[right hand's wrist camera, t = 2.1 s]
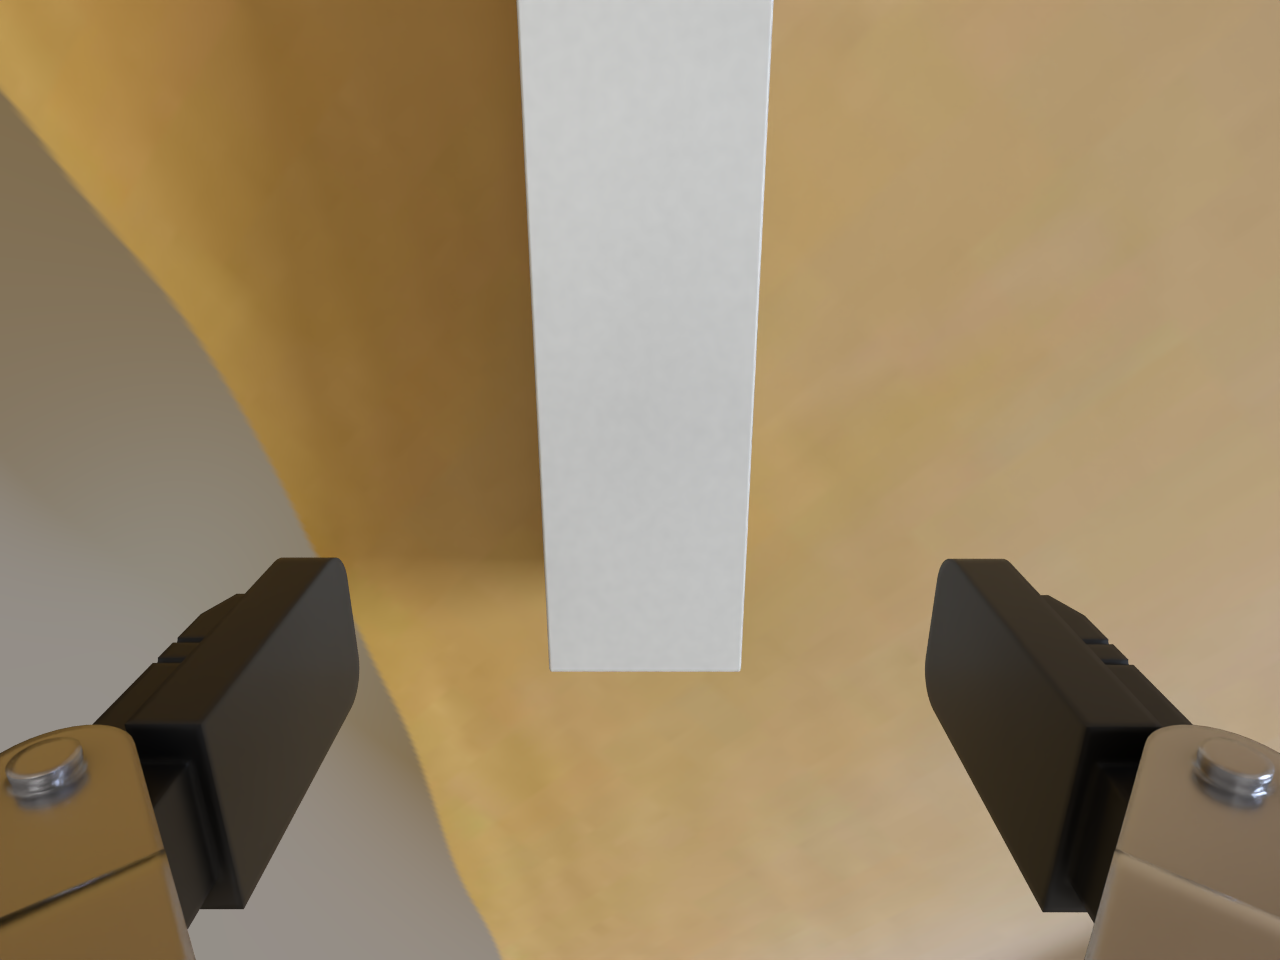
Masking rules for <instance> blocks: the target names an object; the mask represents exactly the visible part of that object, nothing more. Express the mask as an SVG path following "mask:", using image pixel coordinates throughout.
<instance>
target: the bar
mask: <svg viewBox="0 0 1280 960" xmlns="http://www.w3.org/2000/svg"><path fill="white" fill-rule="evenodd" d="M516 1H517V21H518V41H519V61H520V82H521V102H522V122H523V143H524V163H525V183H526V203H527V224H528V244H529V264H530V285H531V305H532V325H533V346H534V366H535V386H536V406H537V427H538V447H539V467H540V488H541V508H542V528H543V548H544V569H545V589H546V609H547V630H548V650H549V669H550V671H690V672H738V671H740V669H741V653H742V632H743V612H744V592H745V571H746V551H747V530H748V510H749V489H750V469H751V449H752V428H753V408H754V387H755V367H756V347H757V326H758V306H759V285H760V265H761V244H762V224H763V204H764V183H765V163H766V142H767V122H768V101H769V81H770V61H771V40H772V20H773V0H516Z"/></svg>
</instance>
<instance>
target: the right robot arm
mask: <svg viewBox="0 0 1280 960" xmlns="http://www.w3.org/2000/svg"><path fill="white" fill-rule="evenodd" d="M925 679H926V687H927V692H928V697H929V700H930V703H931V706H932V708H933V710H934V712H935V714H936V716H937V717H938V719H939V721H940V723H941V725H942V727H943V728H944V730H945V732H946V734H947V736H948V738H949V740H950V741H951V743H952V745H953V747H954V749H955V751H956V753H957V754H958V756H959V758H960V760H961V762H962V764H963V765H964V767H965V769H966V771H967V773H968V775H969V777H970V778H971V780H972V782H973V784H974V786H975V788H976V790H977V791H978V793H979V795H980V797H981V799H982V801H983V802H984V804H985V806H986V808H987V810H988V812H989V814H990V815H991V817H992V819H993V821H994V823H995V825H996V827H997V828H998V830H999V832H1000V834H1001V836H1002V838H1003V839H1004V841H1005V843H1006V845H1007V847H1008V849H1009V851H1010V852H1011V854H1012V856H1013V858H1014V860H1015V862H1016V863H1017V865H1018V867H1019V869H1020V871H1021V873H1022V875H1023V876H1024V878H1025V880H1026V882H1027V884H1028V886H1029V888H1030V889H1031V891H1032V893H1033V895H1034V897H1035V899H1036V900H1037V902H1038V904H1039V906H1040V908H1041V910H1042V912H1088V914H1089V916H1090V917H1091V919H1092V921H1093V922H1094V927H1093V930H1092V934H1091V938H1090V941H1089V945H1088V948H1087V952H1086V955H1085V959H1084V960H1280V753H1278V752H1277V751H1275V750H1273V749H1271V748H1269V747H1267V746H1265V745H1263V744H1261V743H1258V742H1256V741H1254V740H1252V739H1249V738H1246V737H1244V736H1241V735H1238V734H1235V733H1232V732H1228V731H1225V730H1221V729H1216V728H1211V727H1206V726H1198V725H1192V724H1191V722H1190V721H1189V720H1188V719H1187V718H1186V717H1185V716H1184V715H1183V714H1182V713H1181V712H1180V711H1179V710H1178V709H1177V708H1176V707H1175V706H1174V705H1173V704H1172V703H1171V702H1170V701H1169V700H1168V699H1167V698H1166V697H1165V696H1164V695H1163V694H1162V693H1161V692H1160V691H1159V690H1158V689H1157V688H1156V687H1155V686H1154V685H1153V684H1152V683H1151V682H1150V681H1149V680H1148V679H1147V678H1146V677H1145V676H1144V675H1143V674H1142V673H1141V672H1140V671H1139V670H1138V669H1137V668H1136V667H1135V666H1134V665H1129V664H1128V659H1127V658H1126V657H1125V656H1124V655H1123V654H1122V653H1121V652H1120V651H1119V650H1118V649H1117V648H1116V647H1115V646H1114V645H1113V644H1109V643H1108V639H1107V638H1106V637H1105V636H1104V635H1103V634H1102V633H1101V632H1100V631H1099V630H1098V629H1097V628H1096V627H1095V626H1094V625H1093V624H1092V623H1091V622H1090V621H1089V620H1088V619H1087V618H1086V617H1085V616H1084V615H1083V614H1081V613H1079V612H1077V611H1075V610H1074V609H1072V608H1070V607H1068V606H1067V605H1065V604H1063V603H1061V602H1059V601H1058V600H1056V599H1054V598H1052V597H1051V596H1049V595H1040V594H1039V593H1038V592H1037V591H1036V590H1035V589H1034V588H1033V587H1032V586H1031V585H1030V583H1029V582H1028V581H1027V580H1026V579H1025V578H1024V577H1023V576H1022V575H1021V574H1020V573H1019V572H1018V571H1017V570H1016V569H1015V567H1014V566H1013V565H1012V564H1011V563H1010V562H1009V561H1007V560H1005V559H947V560H945V561H944V562H943V564H942V565H941V567H940V570H939V573H938V578H937V585H936V591H935V598H934V605H933V612H932V619H931V626H930V633H929V639H928V646H927V653H926V661H925ZM358 681H359V657H358V649H357V642H356V635H355V629H354V622H353V615H352V608H351V601H350V594H349V587H348V580H347V574H346V570H345V567H344V565H343V563H342V561H341V560H340V559H338V558H279V559H277V560H276V561H275V562H274V563H273V564H272V565H271V566H270V567H269V568H268V570H267V571H266V572H265V573H264V574H263V575H262V576H261V577H260V578H259V579H258V580H257V581H256V582H255V584H254V585H253V586H252V587H251V588H250V589H249V590H248V591H247V592H246V593H245V594H236V595H234V596H232V597H230V598H229V599H227V600H225V601H223V602H222V603H220V604H218V605H216V606H214V607H213V608H211V609H209V610H207V611H206V612H204V613H202V614H201V615H200V616H199V617H198V618H197V619H196V620H195V621H194V622H193V623H192V624H191V625H190V626H189V627H188V628H187V629H186V630H185V631H184V632H183V633H182V634H181V635H180V636H179V637H178V641H177V643H172V644H171V645H170V646H169V647H168V648H167V649H166V650H165V651H164V652H163V653H162V654H161V655H160V656H159V657H158V663H152V664H151V665H150V666H149V667H148V669H147V670H146V671H145V672H144V673H143V674H142V675H141V676H140V677H139V678H138V679H137V680H136V681H135V682H134V683H133V684H132V685H131V686H130V687H129V688H128V689H127V690H126V691H125V692H124V693H123V694H122V695H121V696H120V697H119V698H118V699H117V700H116V701H115V702H114V703H113V704H112V705H111V706H110V707H109V708H108V709H107V710H106V711H105V712H104V713H103V714H102V715H101V716H100V717H99V718H98V719H97V720H96V722H94V723H93V724H92V725H82V726H74V727H69V728H64V729H59V730H55V731H52V732H48V733H45V734H42V735H39V736H36V737H34V738H31V739H28V740H26V741H24V742H22V743H19V744H17V745H15V746H13V747H11V748H9V749H7V750H5V751H3V752H2V753H0V960H196V959H195V955H194V952H193V948H192V945H191V941H190V938H189V934H188V930H187V929H188V928H189V926H190V924H191V923H192V921H193V919H194V918H195V916H196V914H197V913H198V911H199V909H244V908H245V906H246V904H247V902H248V900H249V898H250V896H251V894H252V893H253V891H254V889H255V887H256V885H257V883H258V881H259V880H260V878H261V876H262V874H263V872H264V870H265V868H266V866H267V865H268V863H269V861H270V859H271V857H272V855H273V853H274V851H275V850H276V848H277V846H278V844H279V842H280V840H281V838H282V836H283V835H284V833H285V831H286V829H287V827H288V825H289V823H290V821H291V820H292V818H293V816H294V814H295V812H296V810H297V808H298V807H299V805H300V803H301V801H302V799H303V797H304V795H305V793H306V791H307V790H308V788H309V786H310V784H311V782H312V780H313V778H314V777H315V775H316V773H317V771H318V769H319V767H320V765H321V763H322V762H323V760H324V758H325V756H326V754H327V752H328V750H329V748H330V747H331V745H332V743H333V741H334V739H335V737H336V735H337V733H338V732H339V730H340V728H341V726H342V724H343V722H344V720H345V719H346V717H347V715H348V713H349V711H350V709H351V707H352V705H353V703H354V700H355V696H356V693H357V687H358Z"/></svg>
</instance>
